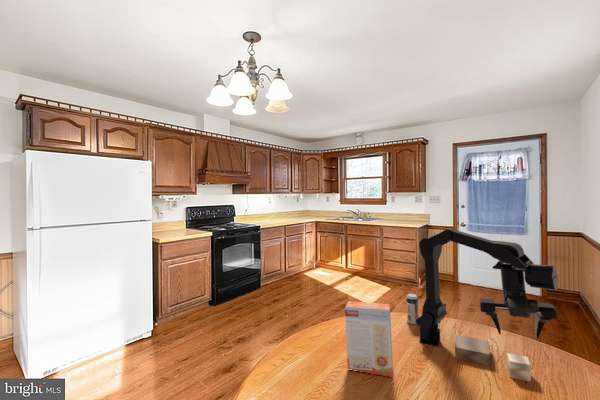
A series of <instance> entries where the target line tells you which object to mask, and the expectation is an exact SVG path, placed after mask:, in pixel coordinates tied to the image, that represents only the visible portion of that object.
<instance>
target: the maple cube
mask: <svg viewBox="0 0 600 400" xmlns="http://www.w3.org/2000/svg"><path fill="white" fill-rule="evenodd" d="M506 354H507V355H506V357H507V370H508V374H509V378H511V379H512V378H513V379H516V380H522V381H525V382H530V383H531V382H532V377H531V376H532V375H531V374H532V372H531V363H530V360H529V358H528V356H525V355H520V354H514V353H509V352H507V353H506Z"/></svg>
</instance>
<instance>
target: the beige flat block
mask: <svg viewBox="0 0 600 400" xmlns="http://www.w3.org/2000/svg"><path fill="white" fill-rule="evenodd" d="M490 353H491V351H490V342H489V340H486V339H481V338H478V337H471V336H465V335H460V334H456V335H455V343H454V354H455V355H454V356H455V359H458V360H463V361H469V362H473V363H477V364H482V365H485V366H491V354H490Z"/></svg>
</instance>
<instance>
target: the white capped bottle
mask: <svg viewBox="0 0 600 400" xmlns="http://www.w3.org/2000/svg"><path fill="white" fill-rule="evenodd" d="M405 299H406V301H405V303H406V322H407V323H409V324H410V323H411V325H417V322H416V319H418V318H419V317H420V315H419V297H418V296H417V294H415V293H408V294H406V297H405Z"/></svg>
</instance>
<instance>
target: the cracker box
mask: <svg viewBox="0 0 600 400" xmlns="http://www.w3.org/2000/svg"><path fill="white" fill-rule="evenodd" d="M344 313H345V340H346V342H345V343H346V345H345V346H346V363H347V364H346V365H347V370H348V369H352V370H357V371H362V372H367V373H366V374H368V373H371V374H370V375H375V374H377V376H383V377H388V376H389V377H390V378H392V377H393V372H394V371H393V366H394V365H393V363H394V361H393V340H392V322H391V321H392V319H391V303H381V302H380V303H377V302H367V301H366V302H362V301H352V300H350V301H349V300H348V301H347V303H346V305H345V308H344ZM362 372H361V373H362Z"/></svg>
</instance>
